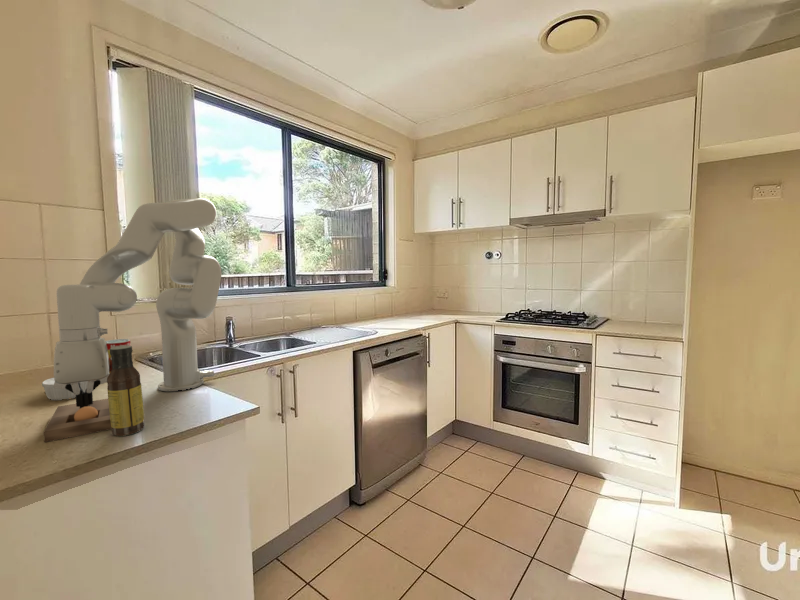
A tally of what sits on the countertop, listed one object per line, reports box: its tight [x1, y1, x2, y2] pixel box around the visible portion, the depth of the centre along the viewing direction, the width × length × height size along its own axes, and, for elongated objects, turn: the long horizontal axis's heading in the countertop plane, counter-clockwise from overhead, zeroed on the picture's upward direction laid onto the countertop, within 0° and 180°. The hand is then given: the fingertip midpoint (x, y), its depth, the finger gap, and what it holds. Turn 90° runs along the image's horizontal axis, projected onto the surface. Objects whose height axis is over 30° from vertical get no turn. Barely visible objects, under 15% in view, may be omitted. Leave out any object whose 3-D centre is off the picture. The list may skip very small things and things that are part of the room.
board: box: [43, 398, 112, 443], centre depth 90 cm, size 14×18×2 cm
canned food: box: [105, 338, 132, 374], centre depth 131 cm, size 8×8×12 cm
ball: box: [74, 406, 98, 421], centre depth 88 cm, size 4×4×4 cm
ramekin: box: [41, 377, 88, 401], centre depth 108 cm, size 11×11×5 cm
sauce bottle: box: [106, 345, 145, 437], centre depth 83 cm, size 6×6×20 cm
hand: (85, 408), depth 90 cm, fingers closed
